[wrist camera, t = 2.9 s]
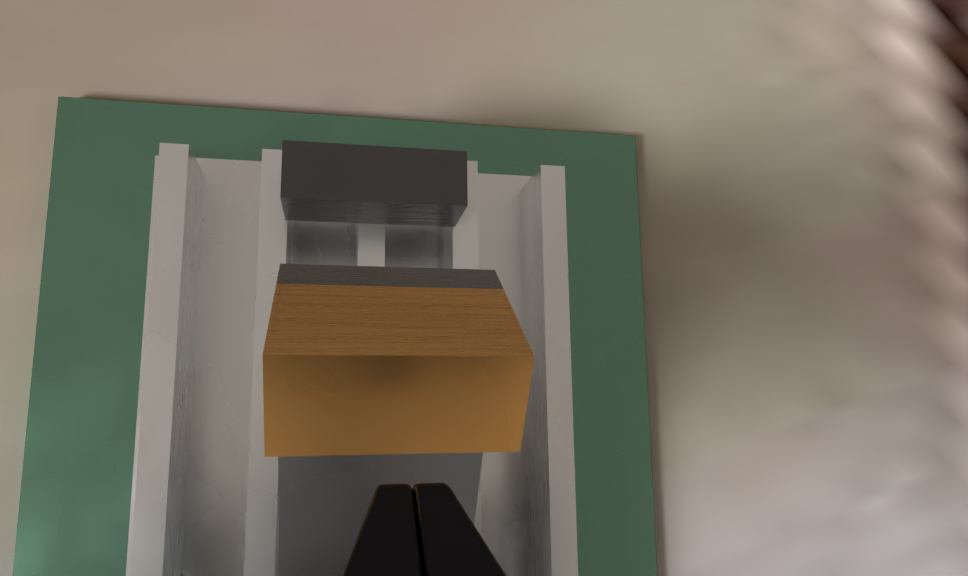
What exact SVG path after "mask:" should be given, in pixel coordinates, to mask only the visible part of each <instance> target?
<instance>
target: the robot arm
mask: <svg viewBox="0 0 968 576" xmlns="http://www.w3.org/2000/svg"><path fill="white" fill-rule="evenodd" d="M342 576H506V574H505V573H504V571H503V569H502V568H501V566H500V565H499V563H498V562H497V560H496V558H495V557H494V555H493V554H492V552H491V551H490V549H489V547H488V546H487V544H486V543H485V541H484V540H483V538H482V536H481V535H480V533H479V532H478V530H477V529H476V527H475V525H474V524H473V522H472V521H471V519H470V518H469V516H468V514H467V513H466V511H465V510H464V508H463V507H462V505H461V504H460V502H459V500H458V499H457V497H456V496H455V494H454V493H453V491H452V490H451V488H450V487H449V486H448V485H447V484H445V483H418V484H415V485H414V486H413V488H411V486H410V485H408V484H381V485H379V486H377V488H376V489H375V491H374V494H373V496H372V499H371V501H370V504H369V507H368V509H367V512H366V515H365V517H364V520H363V522H362V525H361V528H360V530H359V533H358V536H357V538H356V541H355V543H354V546H353V549H352V551H351V554H350V557H349V559H348V562H347V564H346V567H345V570H344V572H343V575H342Z"/></svg>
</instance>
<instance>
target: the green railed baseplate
mask: <svg viewBox="0 0 968 576" xmlns="http://www.w3.org/2000/svg"><path fill="white" fill-rule="evenodd" d="M280 264H311V265H345V266H380V267H414V268H448V269H483V270H495V271H496V273H497V276H498V278H499V280H500V282H501V284H502V287H503V289H504V291H505V293H506V295H507V297H508V300H509V302H510V304H511V306H512V308H513V311H514V313H515V315H516V317H517V319H518V322H519V324H520V326H521V328H522V330H523V332H524V335H525V337H526V339H527V341H528V343H529V346H530V348H531V350H532V352H533V354H534V363H533V370H532V376H531V383H530V390H529V396H528V403H527V410H526V416H525V423H524V430H523V436H522V443H521V450H520V452H483V458H482V466H481V474H480V482H479V490H478V498H477V506H476V514H475V522H474V525H475V527H476V529H477V530H478V532H479V533H480V535H481V536H482V538H483V540H484V541H485V543H486V544H487V546H488V547H489V549H490V551H491V552H492V554H493V555H494V557H495V558H496V560H497V562H498V563H499V565H500V566H501V568H502V569H503V571H504V573H505V574H506V576H657V558H656V539H655V519H654V499H653V480H652V460H651V441H650V421H649V402H648V382H647V362H646V343H645V323H644V304H643V284H642V264H641V245H640V225H639V206H638V186H637V166H636V147H635V136H632V135H617V134H603V133H588V132H573V131H559V130H544V129H529V128H514V127H500V126H485V125H470V124H455V123H441V122H426V121H411V120H396V119H382V118H367V117H352V116H337V115H323V114H308V113H293V112H278V111H264V110H249V109H234V108H220V107H205V106H190V105H175V104H161V103H146V102H131V101H116V100H102V99H87V98H72V97H58V108H57V118H56V129H55V139H54V149H53V160H52V170H51V181H50V191H49V201H48V212H47V222H46V233H45V243H44V253H43V264H42V274H41V285H40V295H39V305H38V316H37V326H36V337H35V347H34V358H33V368H32V378H31V389H30V399H29V410H28V420H27V430H26V441H25V451H24V462H23V472H22V482H21V493H20V503H19V514H18V524H17V534H16V545H15V555H14V566H13V576H279V491H278V457H265V455H264V404H263V350H264V345H265V339H266V334H267V329H268V324H269V319H270V314H271V308H272V303H273V298H274V293H275V288H276V283H277V277H278V272H279V267H280Z"/></svg>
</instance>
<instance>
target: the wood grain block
mask: <svg viewBox="0 0 968 576" xmlns="http://www.w3.org/2000/svg"><path fill="white" fill-rule="evenodd" d="M533 363H534V354H533V352H532V350H531V348H530V346H529V343H528V341H527V339H526V337H525V335H524V332H523V330H522V328H521V326H520V324H519V322H518V319H517V317H516V315H515V313H514V311H513V308H512V306H511V304H510V302H509V300H508V297H507V295H506V293H505V291H504V289H503V287H502V284H501V282H500V280H499V278H498V276H497V273H496V271H495V270H483V269H448V268H414V267H380V266H345V265H311V264H280V267H279V272H278V277H277V283H276V288H275V293H274V298H273V303H272V308H271V314H270V319H269V324H268V329H267V334H266V339H265V345H264V350H263V404H264V455H265V457H278V491H279V576H342V575H343V572H344V570H345V567H346V564H347V562H348V559H349V557H350V554H351V551H352V549H353V546H354V543H355V541H356V538H357V536H358V533H359V530H360V528H361V525H362V522H363V520H364V517H365V515H366V512H367V509H368V507H369V504H370V501H371V499H372V496H373V494H374V491H375V489H376V488H377V486H379V485H381V484H408V485H410V486H411V488H413V486H414V485H415V484H418V483H445V484H447V485H448V486H449V487H450V488H451V490H452V491H453V493H454V494H455V496H456V497H457V499H458V500H459V502H460V504H461V505H462V507H463V508H464V510H465V511H466V513H467V514H468V516H469V518H470V519H471V521H472V522H473V524H474V522H475V514H476V506H477V498H478V490H479V482H480V474H481V466H482V458H483V452H520V450H521V443H522V436H523V430H524V423H525V416H526V410H527V403H528V396H529V390H530V383H531V376H532V370H533Z"/></svg>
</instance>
